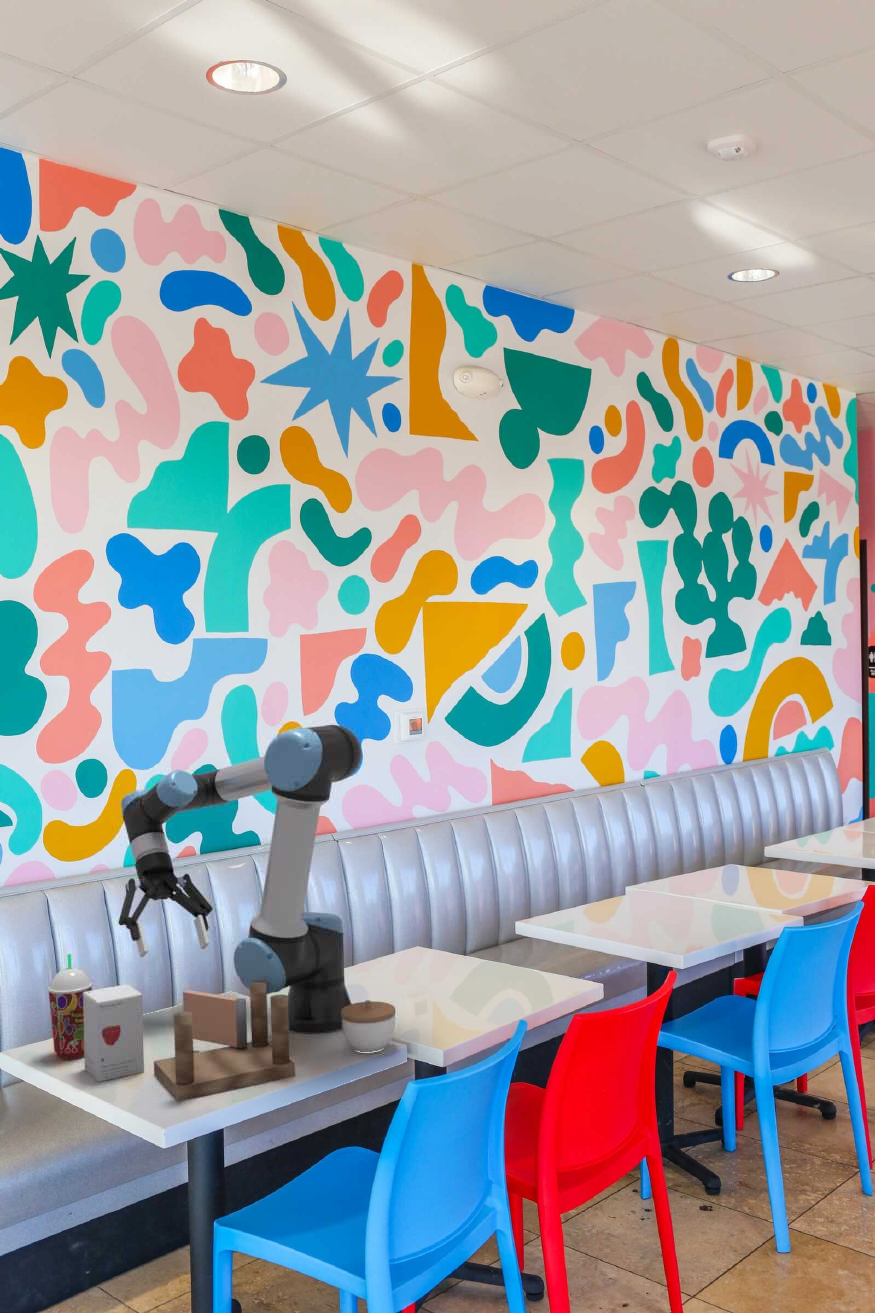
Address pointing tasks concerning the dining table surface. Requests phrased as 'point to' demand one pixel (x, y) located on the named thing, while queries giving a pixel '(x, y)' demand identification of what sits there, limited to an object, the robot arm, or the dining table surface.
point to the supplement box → (113, 1032)
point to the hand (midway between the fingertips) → (175, 950)
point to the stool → (230, 1053)
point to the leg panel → (217, 1018)
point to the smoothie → (68, 1011)
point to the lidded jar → (368, 1025)
